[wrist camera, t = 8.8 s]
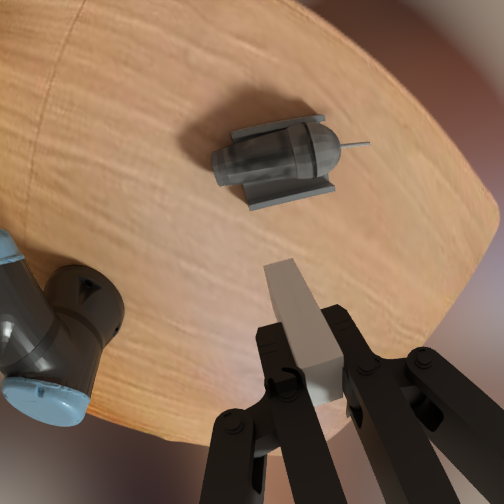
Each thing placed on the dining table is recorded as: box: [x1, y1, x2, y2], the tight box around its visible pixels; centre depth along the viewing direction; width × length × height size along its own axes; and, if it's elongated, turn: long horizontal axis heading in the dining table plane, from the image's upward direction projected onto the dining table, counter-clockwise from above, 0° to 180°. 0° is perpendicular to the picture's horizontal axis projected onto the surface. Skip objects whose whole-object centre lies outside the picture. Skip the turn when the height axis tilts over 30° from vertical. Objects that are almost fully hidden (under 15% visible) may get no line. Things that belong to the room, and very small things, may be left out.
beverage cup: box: [211, 122, 370, 186], centre depth 35 cm, size 7×7×20 cm
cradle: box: [230, 114, 335, 211], centre depth 38 cm, size 12×11×2 cm
